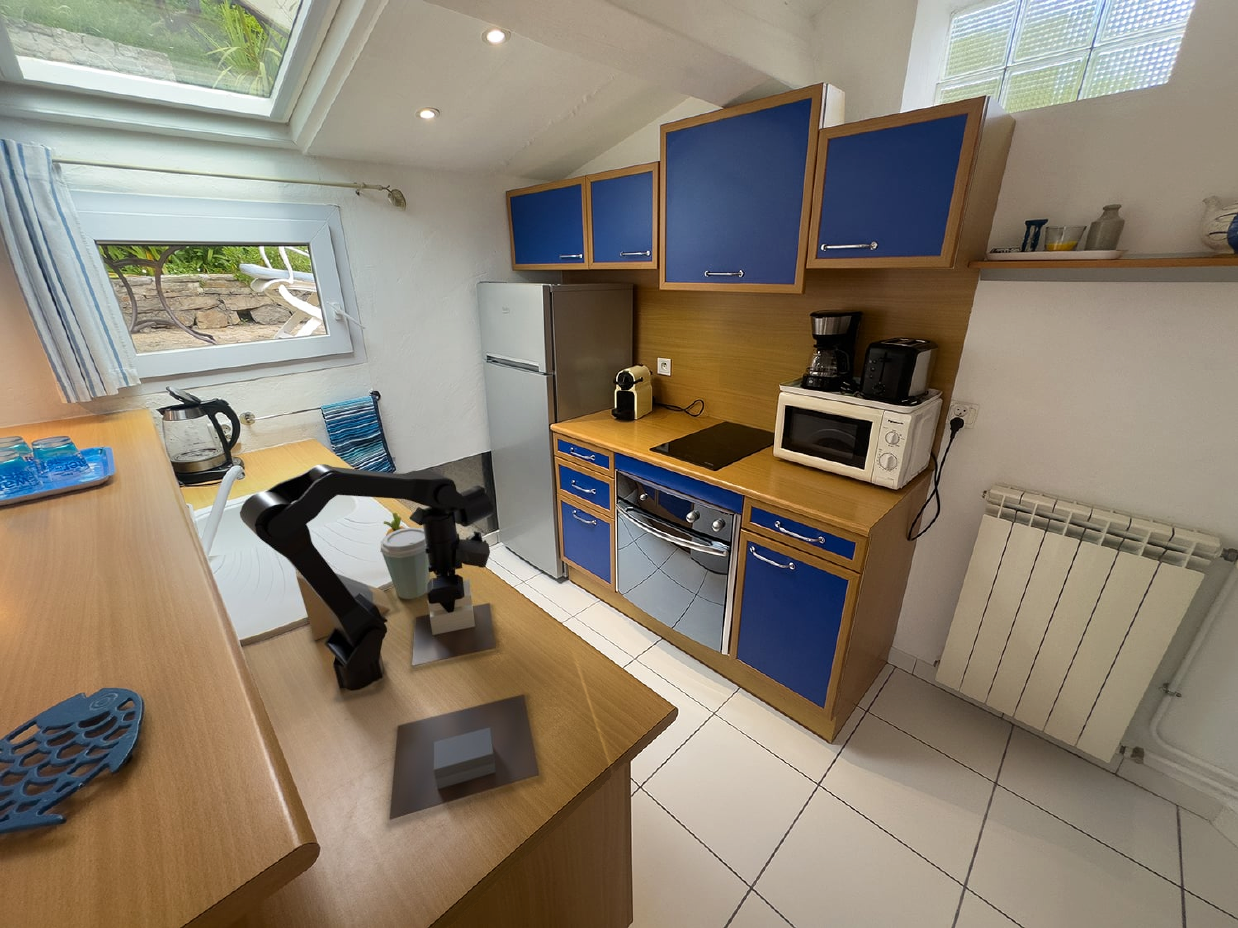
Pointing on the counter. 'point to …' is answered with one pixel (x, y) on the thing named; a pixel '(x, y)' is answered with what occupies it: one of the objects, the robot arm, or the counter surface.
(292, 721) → the counter surface
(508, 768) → the front board
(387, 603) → the sandwich container
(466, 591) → the cream book
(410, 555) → the disposable coffee cup
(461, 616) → the cream books
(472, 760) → the grey books
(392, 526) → the carrot
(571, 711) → the counter surface
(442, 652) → the back board
